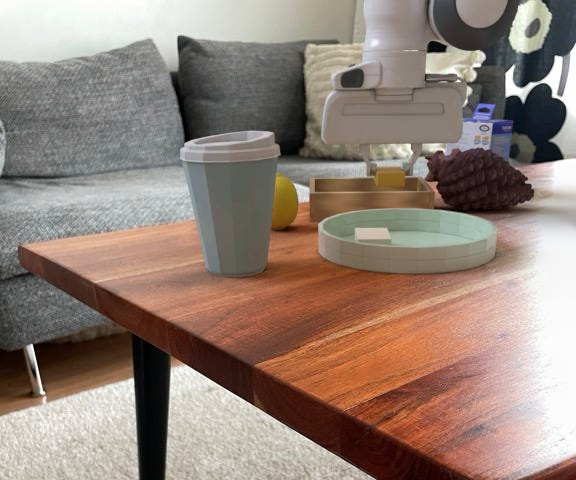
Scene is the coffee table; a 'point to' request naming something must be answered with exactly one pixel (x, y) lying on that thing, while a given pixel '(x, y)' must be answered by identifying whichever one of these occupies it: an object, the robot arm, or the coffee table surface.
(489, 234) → the round tray
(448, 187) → the pine cone
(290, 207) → the lemon
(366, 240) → the block
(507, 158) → the ink cartridge box
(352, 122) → the robot arm
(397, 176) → the block
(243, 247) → the disposable coffee cup
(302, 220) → the coffee table surface
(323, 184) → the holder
